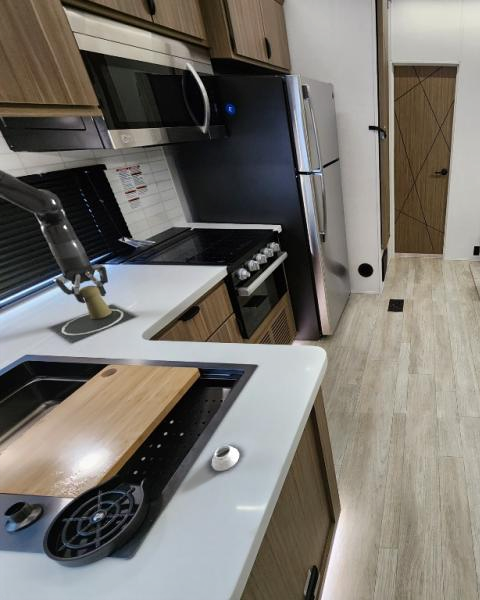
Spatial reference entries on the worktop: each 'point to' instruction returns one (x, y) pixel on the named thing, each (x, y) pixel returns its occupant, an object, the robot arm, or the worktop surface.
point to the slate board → (90, 324)
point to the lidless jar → (225, 458)
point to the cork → (95, 302)
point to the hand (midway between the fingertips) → (93, 298)
